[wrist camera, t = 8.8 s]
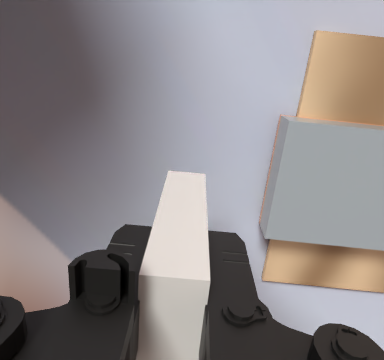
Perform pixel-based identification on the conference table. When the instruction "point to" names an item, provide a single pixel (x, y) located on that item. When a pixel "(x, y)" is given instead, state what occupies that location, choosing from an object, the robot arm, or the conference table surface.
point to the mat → (340, 111)
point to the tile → (326, 184)
